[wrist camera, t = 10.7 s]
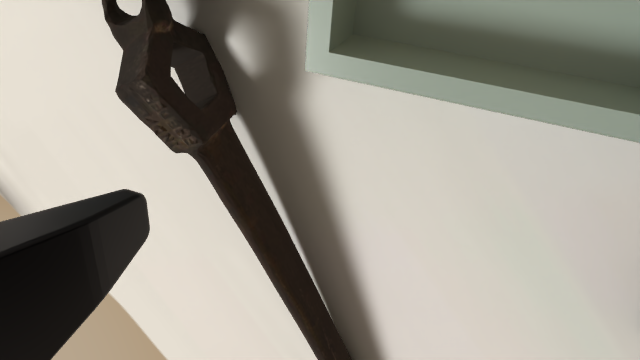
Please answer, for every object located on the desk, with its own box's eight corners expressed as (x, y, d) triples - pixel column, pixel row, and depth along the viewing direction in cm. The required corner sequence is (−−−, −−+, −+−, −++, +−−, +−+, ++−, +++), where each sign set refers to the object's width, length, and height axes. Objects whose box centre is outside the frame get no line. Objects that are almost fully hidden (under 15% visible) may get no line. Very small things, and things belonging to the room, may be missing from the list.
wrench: (342, 433, 35) (95, -4, 23) (415, 435, 33) (182, -47, 21) (318, 513, 31) (2, 31, 19) (400, 522, 29) (99, -18, 17)
